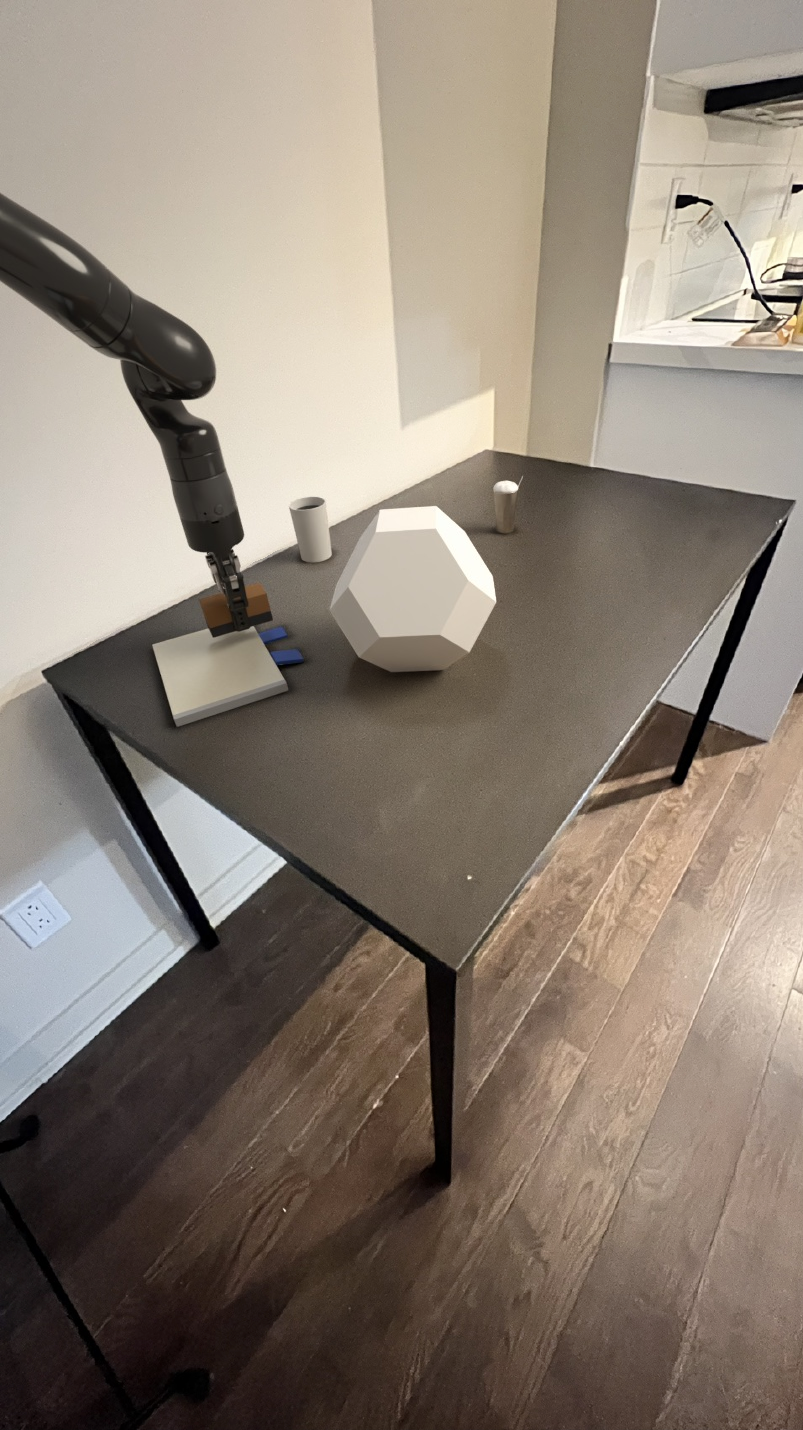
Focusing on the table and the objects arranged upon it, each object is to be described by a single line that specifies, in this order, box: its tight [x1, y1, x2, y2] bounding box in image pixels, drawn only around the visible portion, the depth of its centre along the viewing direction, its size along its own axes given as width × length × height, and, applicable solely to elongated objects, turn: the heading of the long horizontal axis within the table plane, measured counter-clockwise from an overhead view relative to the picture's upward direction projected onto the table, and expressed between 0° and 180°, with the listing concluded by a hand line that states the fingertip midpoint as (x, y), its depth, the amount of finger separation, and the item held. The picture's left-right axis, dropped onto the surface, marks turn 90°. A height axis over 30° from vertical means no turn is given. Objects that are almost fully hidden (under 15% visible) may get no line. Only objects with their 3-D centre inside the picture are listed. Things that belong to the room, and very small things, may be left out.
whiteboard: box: [152, 626, 289, 728], centre depth 89 cm, size 15×21×1 cm
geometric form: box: [328, 505, 497, 673], centre depth 82 cm, size 20×20×20 cm
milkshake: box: [492, 475, 524, 534], centre depth 116 cm, size 5×5×10 cm
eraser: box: [198, 582, 274, 638], centre depth 91 cm, size 4×9×4 cm, turn 115°
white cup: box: [288, 496, 333, 563], centre depth 114 cm, size 7×7×10 cm
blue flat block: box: [257, 626, 289, 645], centre depth 95 cm, size 4×3×1 cm
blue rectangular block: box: [269, 648, 304, 666], centre depth 89 cm, size 4×3×1 cm
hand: (239, 621), depth 92 cm, fingers closed on eraser, 4 cm apart
